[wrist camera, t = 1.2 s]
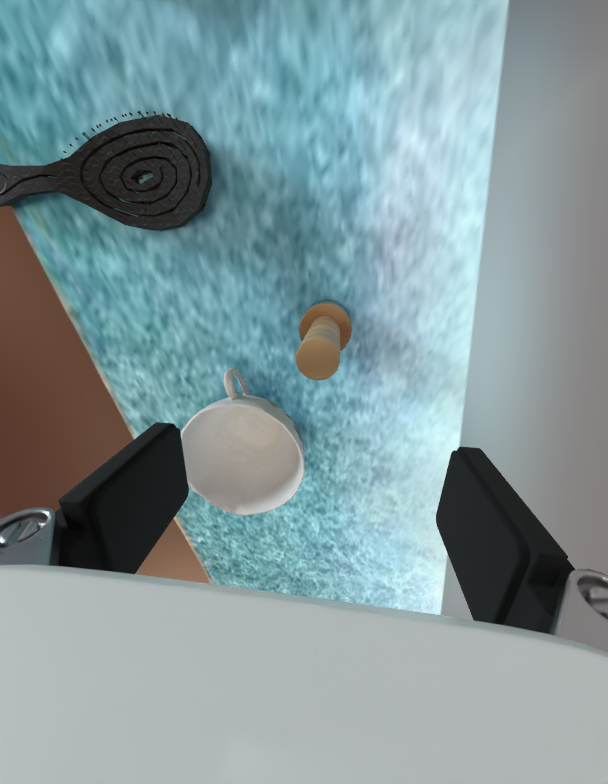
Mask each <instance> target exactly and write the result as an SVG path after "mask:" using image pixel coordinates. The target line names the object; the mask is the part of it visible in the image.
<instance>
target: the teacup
mask: <svg viewBox="0 0 608 784" xmlns="http://www.w3.org/2000/svg"><path fill="white" fill-rule="evenodd" d="M233 375H234V376H235V377H236V378H237V380H238V382H239V384H240V386H241V388H242V390H243V395H241V394H240V393H237V392H236V391H235V387H234V379H233ZM224 386H225V390H226V393H227V395H228V398H225V399H222V400H219V401H216V402H214V403H212V404H210V405H208V406H207V407H205V408H203V409H202V410H200V411H199V412H198V413H197V414H196V415H194V416H193V417H192V418H191V419H190V420H189V422H188V423H187V424H186V426H185V427H184V428H183V429H182V432H181V440H182V447H183V454H184V460H185V467H186V474H187V481H188V484H189V485H190V486H191V487H192V489H193V490H194V491H195V492H196V493H197V494H199V495H201V496H202V497H203V498H204V499H206V500H207V501H208V502H209V503H210V504H211V505H212V506H214V507H216V508H222V509H224V510H225V511H226V512H231V513H233V514H240V515H249V514H256V513H262V512H267V511H270V510H272V509H275V508H277V507H279V506H281V505H283V504H284V503H286V502H287V501H288V500H289V499H291V498H292V497H293V496H294V495H295V494H296V492H297V490H298V489H299V487H300V485H301V482H302V480H303V477H304V470H305V462H304V450H303V444H302V440H301V437H300V434H299V431H298V429H297V427H296V425H295V424H294V422H293V420H292V419H291V418H290V417H289V415H288V414H287V413H286V412H285V411H284V410H283V409H281V408H280V407H279V406H278V405H276V404H274V403H273V402H271V401H269V400H266V399H264V398H260V397H256V396H251V395H250V393H249V390H248V386H247V383H246V380H245V379H244V377H243V376H242V375H241V374H240V372H239V371H238V370H237V369H236V368H235V367H232V368H230V369H228V370H227V371H226V372H225V373H224Z"/></svg>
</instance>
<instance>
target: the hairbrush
mask: <svg viewBox="0 0 608 784" xmlns="http://www.w3.org/2000/svg"><path fill="white" fill-rule="evenodd" d="M138 113H139V115H140V114H141V112H140V111H138ZM146 113H147V115H148V112H146ZM129 114H130V115H131V116H132V114H131V113H130V112H129ZM154 114H155V116H150V117H145V118H143V117H144V116H143V115H142V114H141V115H142V116H143V117H142V118H140V119H135V118H134V119H135V120H130V121H125V122H120V123H118V124H116V125H114V126H112V127H110V128H108V129H107V130H105V131H102V130H101V129H100V128H99V127H98V126H97V125H96V126H97V128H99V129H100V130H101V131H102V132H101V133H99V134H97V135H95V136H93V137H92V138H91V139H90V138H89V137H88V136H87V135H86V133H84V132H83V133H84V134H85V135H86V136H87V137H88V138H89V139H90V140H88V141H87V142H86V143H85V144H83V145H82V146H81V147H80V148H79V149H78V150H77V151H75V152H74V153H73V154H72V155H71V156H70V157H68V158H65V159H62V158H61V160H59V161H57V162H54V163H51V164H48V165H45V166H9V165H3V164H0V173H4V174H5V175H3V174H0V207H1V206H10V205H13V204H15V203H17V202H19V201H21V200H23V199H25V198H27V197H29V196H33V195H40V194H47V193H54V192H60V193H62V194H65V195H67V196H69V197H71V198H73V199H76V200H78V201H80V202H82V203H84V204H86V205H88V206H90V207H92V208H94V209H96V210H98V211H100V212H102V213H103V214H105V215H107V216H109V217H111V218H113V219H115V220H117V221H119V222H121V223H123V224H125V225H129V226H134V227H138V228H143V229H152V230H167V229H171V228H176V227H181V226H184V225H185V224H186V223H188V222H189V221H190V220H192V219H193V218H194V217H195V216H196V215H198V214H199V213H200V212H201V211H203V210H204V207H205V204H206V201H207V197H208V194H209V191H210V188H211V185H212V177H211V162H210V152H209V150H208V149H207V147H206V145H205V143H204V141H203V139H202V138H201V136H200V135H199V134H198V132H197V131H196V130H195V129H194V128H193V126H191V125H190V124H189V123H187V122H184V121H180V120H178V118H176V119H172V118H171V115H170V114H168V113H167V115H168V116H169V117H170V118H169V117H165V116H164V114H163V113H162V115H163V116H161V115H156V113H155V111H154ZM122 116H123V117H124V115H122ZM125 116H127V115H126V114H125ZM114 119H115V120H117V119H116V118H115V117H114ZM128 119H129V118H128ZM110 120H111V121H113V120H112V119H110ZM106 122H108V120H106ZM99 125H100V126H101V124H99ZM110 125H111V124H110ZM101 127H102V126H101ZM102 128H103V127H102ZM91 129H92V130H93V131H94V129H93V128H91ZM172 131H173V132H175V133H177V134H179V135H181V136H183V137H185V138H186V139H187V140H188V141H189V142H190V144H191V146H192V147H191V146H190V144H189V143H188V142H187V141H186V140H184V139H183V138H182V137H180V136H177V135H175V134H172ZM94 132H95V131H94ZM169 132H170V133H169ZM83 133H82V134H83ZM84 134H83V135H84ZM85 135H84V136H85ZM86 136H85V137H86ZM87 137H86V138H87ZM88 138H87V139H88ZM76 139H77V140H78V138H77V137H76ZM164 144H167V145H170V146H173V147H176V148H179V149H180V150H182V151H183V152H184V153H185V154H187V155H188V156H186V155H184V154H183V153H181V152H180V151H179V150H177V149H174V148H171V147H169V146H166V145H164ZM70 146H72V145H71V144H70ZM64 152H65V151H64ZM65 153H67V152H65ZM159 159H169V160H170V161H171V162H172V163H173V164H172V163H170V162H168V161H167V160H159ZM145 172H152V174H153V177H152V178H150V179H149V180H147V181H145V182H144V183H142V184H141V185H140V184H138V179H137V177H138V176H140V175H142V174H144V173H145ZM146 174H147V175H148V173H146ZM48 176H53V177H57V178H53V177H48ZM140 179H143V177H141V178H140ZM131 189H132V190H134V191H136V192H142V193H138V194H137V193H135V192H134V191H132V190H131ZM116 196H117V197H119V198H121V199H122V200H124V201H128V202H131V203H132V204H130V203H125V202H122V201H120V200H119V199H118V198H117V197H116ZM97 197H98V198H99V199H98V198H97ZM134 203H137V204H134ZM139 203H140V204H139ZM142 203H149V204H150V203H152V204H150V205H149V204H142ZM110 206H111V207H114V208H117V209H119V210H122V211H125V212H128V213H131V214H136V215H142V216H147V217H148V218H146V217H141V216H139V217H136V216H132V215H129V214H126V213H123V212H120V211H117V210H114V209H113V208H111V207H110ZM159 215H160V216H159ZM149 216H152V217H153V218H149ZM154 216H155V217H154Z"/></svg>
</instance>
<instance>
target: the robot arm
mask: <svg viewBox="0 0 608 784" xmlns="http://www.w3.org/2000/svg"><path fill="white" fill-rule="evenodd" d="M188 492H189V488H188V481H187V474H186V467H185V460H184V454H183V447H182V440H181V433H180V430H179V429H178V428H176V426H175V425H174V424H171V423H159V422H158V423H155V424H153V425H152V426H151V427H150V428H148V429H147V430H146V431H145V432H143V433H142V434H141V435H140V436H138V437H137V438H136V439H135V440H133V441H132V442H131V443H130V444H128V445H127V446H126V447H125V448H123V449H122V450H121V451H120V452H118V453H117V454H116V455H114V456H113V457H112V458H111V459H109V460H108V461H107V462H106V463H104V464H103V465H102V466H101V467H99V468H98V469H97V470H96V471H94V472H93V473H92V474H91V475H89V476H88V477H87V478H86V479H84V480H83V481H82V482H81V483H79V484H78V485H77V486H75V487H74V488H73V489H72V490H70V491H69V492H68V493H67V494H65V495H64V496H63V497H62V498H60V499H59V504H60V506H61V508H60V509H59V510H57V511H56V512H54V511H53V510H51V509H50V508H45V507H39V508H38V507H37V508H30V509H26V510H22V511H19V512H17V513H14V514H11V515H9V516H7V517H5V518H3V519H1V520H0V784H608V575H606V574H603V573H601V572H597V571H593V570H590V569H577V570H575V568H574V567H573V566H572V565H571V563H570V562H569V561H568V560H567V558H568V556H567V555H566V553H565V552H564V551H563V550H562V549H561V547H560V546H559V545H558V544H557V542H556V541H555V540H554V539H553V537H552V536H551V535H550V534H549V532H548V531H547V530H546V529H545V528H544V526H543V525H542V524H541V523H540V522H539V520H538V519H537V518H536V516H535V515H534V514H533V513H532V512H531V510H530V509H529V508H528V507H527V505H526V504H525V503H524V502H523V501H522V499H521V498H520V497H519V496H518V494H517V493H516V492H515V491H514V489H513V488H512V487H511V486H510V484H509V483H508V482H507V481H506V480H505V478H504V477H503V476H502V475H501V473H500V472H499V471H498V470H497V468H496V467H495V466H494V465H493V464H492V463H491V461H490V460H489V459H488V457H487V456H486V455H485V454H484V452H483V451H482V450H481V449H479V448H470V447H459V448H458V450H457V451H453V452H452V454H451V457H450V461H449V465H448V469H447V473H446V477H445V481H444V485H443V489H442V494H441V498H440V502H439V506H438V510H437V514H436V523H437V527H438V529H439V532H440V535H441V537H442V540H443V542H444V545H445V547H446V550H447V553H448V555H449V558H450V560H451V563H452V565H453V568H454V571H455V573H456V576H457V578H458V581H459V584H460V586H461V589H462V591H463V594H464V596H465V599H466V601H467V604H468V607H469V609H470V612H471V615H472V617H473V619H474V621H473V620H467V619H460V618H454V617H448V616H441V615H435V614H428V613H420V612H413V611H406V610H399V609H392V608H385V607H377V606H370V605H363V604H356V603H349V602H342V601H334V600H327V599H320V598H312V597H305V596H297V595H290V594H282V593H275V592H268V591H260V590H252V589H245V588H237V587H230V586H222V585H215V584H207V583H198V582H191V581H183V580H175V579H168V578H160V577H152V576H144V575H136V574H135V573H136V571H137V570H138V569H139V567H140V566H141V564H142V562H143V561H144V560H145V558H146V557H147V555H148V554H149V552H150V551H151V549H152V548H153V547H154V545H155V544H156V542H157V541H158V540H159V538H160V537H161V535H162V534H163V532H164V531H165V529H166V528H167V527H168V525H169V523H170V522H171V521H172V519H173V518H174V516H175V515H176V513H177V512H178V511H179V509H180V508H181V506H182V505H183V503H184V502H185V500H186V499H187V496H188Z"/></svg>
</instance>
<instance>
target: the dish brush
mask: <svg viewBox="0 0 608 784" xmlns="http://www.w3.org/2000/svg"><path fill="white" fill-rule="evenodd" d="M299 333H300V338H301V340H302V343H301V345H300V346H299V348H298V350H297V353H296V364H297V367H298V369H299V370H300V372H301V373H302V374H303V375H304V376H306V377H307V378H310V379H313V380H324V379H327V378H329V377H330V376H332V375H333V374H334V373H335V372H336V371H337V369H338V367H339V364H340V351H341V350H343V349H344V348H345V346H346V345H347V344H348V342H349V340H350V337H351V323H350V318H349V315H348V312H347V310H346V309H345V308H344V307H343V306H342V305H341V304H340V303H338V302H336V301H333V300H322V301H319V302H317V303H315V304H314V305H313V306H312V307H311V308H310V309H309V310H308V311H307V312H306V313H305V315H304V316H303V318H302V320H301V323H300V328H299Z"/></svg>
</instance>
